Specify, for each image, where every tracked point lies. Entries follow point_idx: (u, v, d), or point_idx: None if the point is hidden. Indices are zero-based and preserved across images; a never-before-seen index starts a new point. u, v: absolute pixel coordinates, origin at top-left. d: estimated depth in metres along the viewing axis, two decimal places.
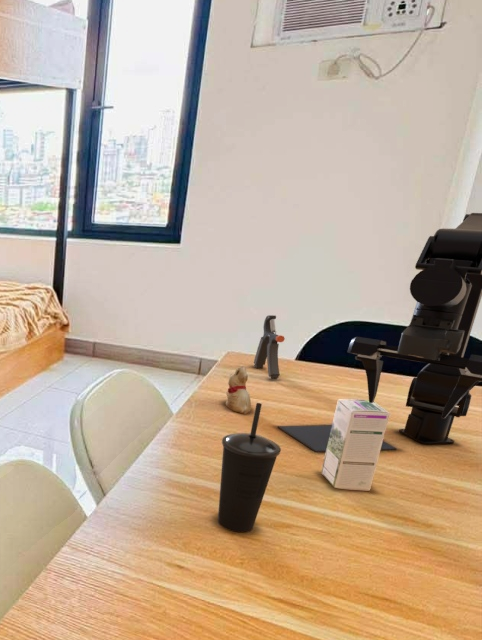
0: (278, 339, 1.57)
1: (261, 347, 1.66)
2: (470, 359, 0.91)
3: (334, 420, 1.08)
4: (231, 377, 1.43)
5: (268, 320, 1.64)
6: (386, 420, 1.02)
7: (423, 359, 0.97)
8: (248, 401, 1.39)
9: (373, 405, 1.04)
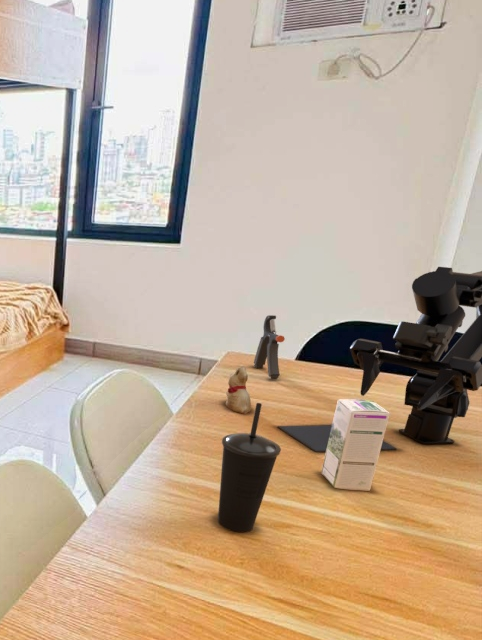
0: (278, 339, 1.57)
1: (261, 347, 1.66)
2: (453, 357, 1.06)
3: (334, 420, 1.08)
4: (231, 377, 1.43)
5: (268, 320, 1.64)
6: (386, 420, 1.02)
7: (411, 362, 1.12)
8: (248, 401, 1.39)
9: (373, 405, 1.04)
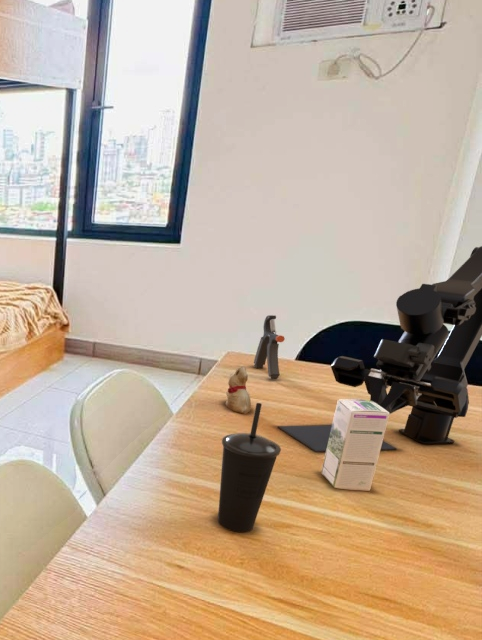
0: (278, 339, 1.57)
1: (261, 347, 1.66)
2: (435, 378, 1.02)
3: (334, 420, 1.08)
4: (231, 377, 1.43)
5: (268, 320, 1.64)
6: (386, 420, 1.02)
7: (366, 375, 1.11)
8: (248, 401, 1.39)
9: (373, 405, 1.04)
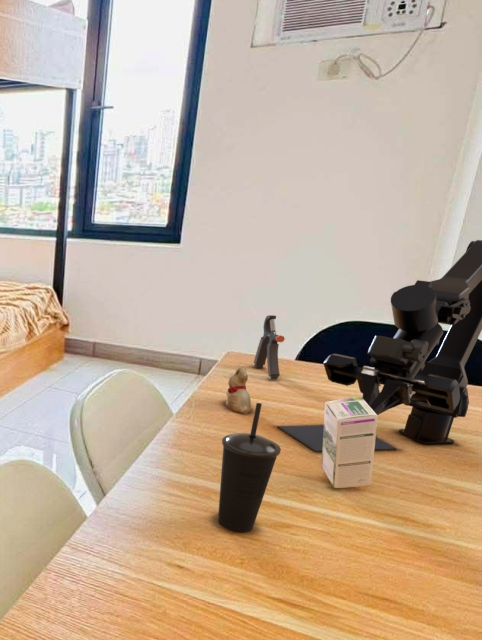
0: (278, 339, 1.57)
1: (261, 347, 1.66)
2: (429, 375, 1.00)
3: (325, 422, 1.06)
4: (231, 377, 1.43)
5: (268, 320, 1.64)
6: (375, 422, 1.00)
7: None
8: (248, 401, 1.39)
9: (361, 406, 1.02)
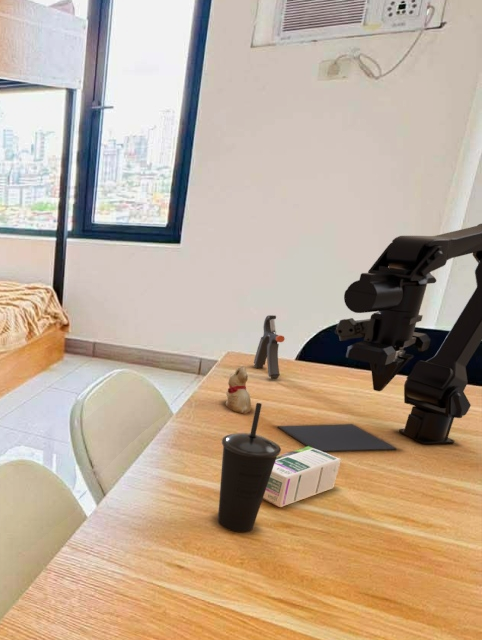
0: (278, 339, 1.57)
1: (261, 347, 1.66)
2: None
3: None
4: (231, 377, 1.43)
5: (268, 320, 1.64)
6: (291, 477, 1.00)
7: None
8: (248, 401, 1.39)
9: None
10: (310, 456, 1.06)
